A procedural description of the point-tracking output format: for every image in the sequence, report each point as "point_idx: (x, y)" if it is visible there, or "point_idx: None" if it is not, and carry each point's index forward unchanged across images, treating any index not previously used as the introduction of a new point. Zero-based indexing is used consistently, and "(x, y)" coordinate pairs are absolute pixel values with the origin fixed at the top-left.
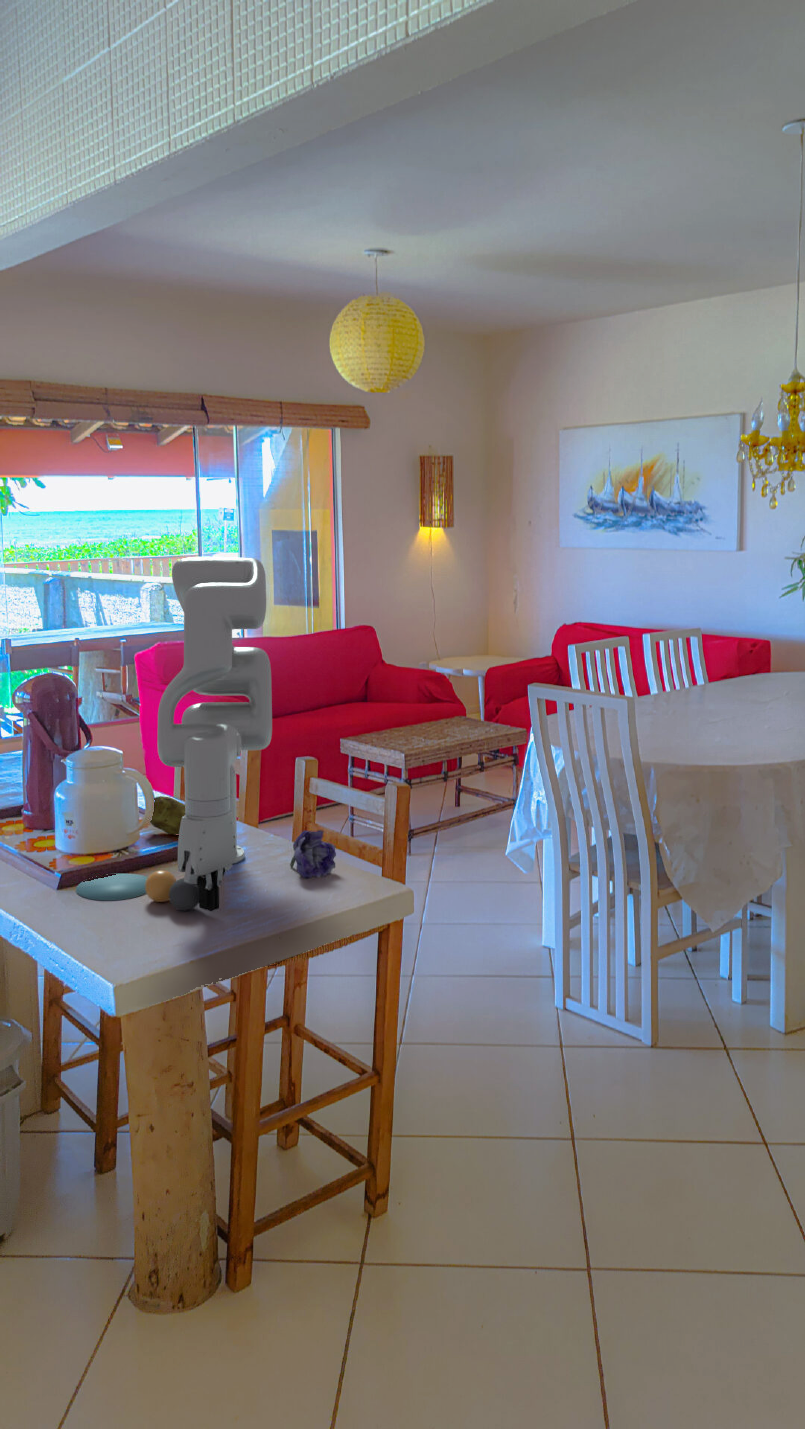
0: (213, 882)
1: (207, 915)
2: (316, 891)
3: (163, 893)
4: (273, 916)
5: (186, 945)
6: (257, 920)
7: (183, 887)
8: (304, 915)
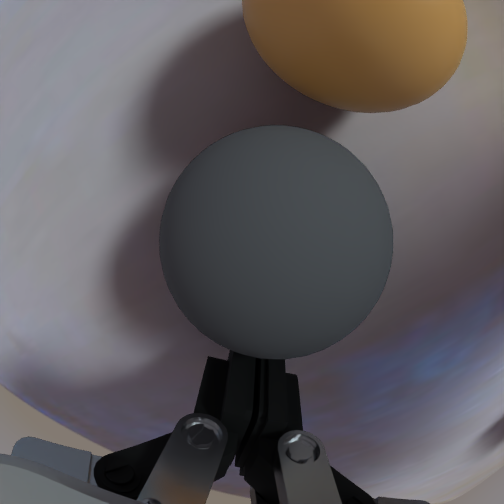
0: (252, 482)
1: None
2: (474, 446)
3: (271, 68)
4: None
5: (28, 360)
6: None
7: (187, 305)
8: None
